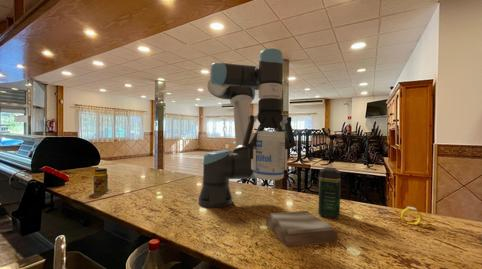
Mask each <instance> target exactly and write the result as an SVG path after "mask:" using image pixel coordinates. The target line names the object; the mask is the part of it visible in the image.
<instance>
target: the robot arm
mask: <svg viewBox="0 0 482 269" xmlns="http://www.w3.org/2000/svg"><path fill="white" fill-rule="evenodd" d="M283 57H284V56H283V52H282V51H281V50H280V49H277V48H265V49H263V50H261V51H260V52H259V56H258V58H259V59H258V65H257V66H256V65H247V64H236V63H234V64H233V63H227V62H226V63H224V62H213V63H211V65H210V72H209V73H210V79H209V80H208V82H207V90H208V92H209V93H210V94H211V95H212V96H213V97H216V98H218V99H221V100H229V102H230V103H229V104H230V105H231V106H233V122H234V140H235V147H234V148H233V149H232V152H231V151H230V150H229V149H225V150H224V149H221V150H214V151H209V152H205V153H204V155H203V162H202V165H203V166H202V168H203V171H202V172H203V173H202V186H201V189H200V193H199V196H198V205H199V206H201V207H204V208H210V209H212V208H214V209H215V208H216V209H217V208H218V209H219V208H225V207H229V206H230V205H232V204H233V195H232V192H231V188H230V184H229V183H230V180H244V179H245V180H251V179H252V180H253V179H257V178H256V177H255V176H254V170H256V149H255V144H256V142H257V135H258V133H256V132H255V133H254V134H253V131H254V130H253V128H254V126H255V123H256V122H257V121H258V123H259V125H258V127H257V129H256V131H265V129H272V130H273V129H274V131H275V132H284V131H283V127H282V125H281V123H282V122H283V124H284V129H285V156H284V171H288V160H290V158H291V156H290V155H291V150H292V148H295V147H296V146H297V144H296V141H295V140H296V139H295V136H294V131H293V127H292V117H291V116H283V113H282V112H283V79H284V78H283V76H284V74H283V72H284V58H283ZM256 91H258V98H259V100H258V101H257V102H258V104H257V105H258V111H257V112H258V113H257V115H253V114H251V104H252V103H253V100H254V99H255V96H256Z"/></svg>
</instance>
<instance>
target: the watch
mask: <svg viewBox="0 0 482 269" xmlns="http://www.w3.org/2000/svg"><path fill="white" fill-rule="evenodd" d="M408 211H412V212H416V213H417V215H418V219H417V220H416V221H415V222H411V221H410V222H407V221H406V220H405V218H404V216H405V213H406V212H408ZM400 218H401V220H402V221H403V222H404V223H406V225H412V226H418V225H419V224H420V223H421V222H422V220H423V217H422V214H421V212H420V211H419V210H417V208H416V207H414V206H406V208H404V209H403V210H402V211H401V213H400Z"/></svg>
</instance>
